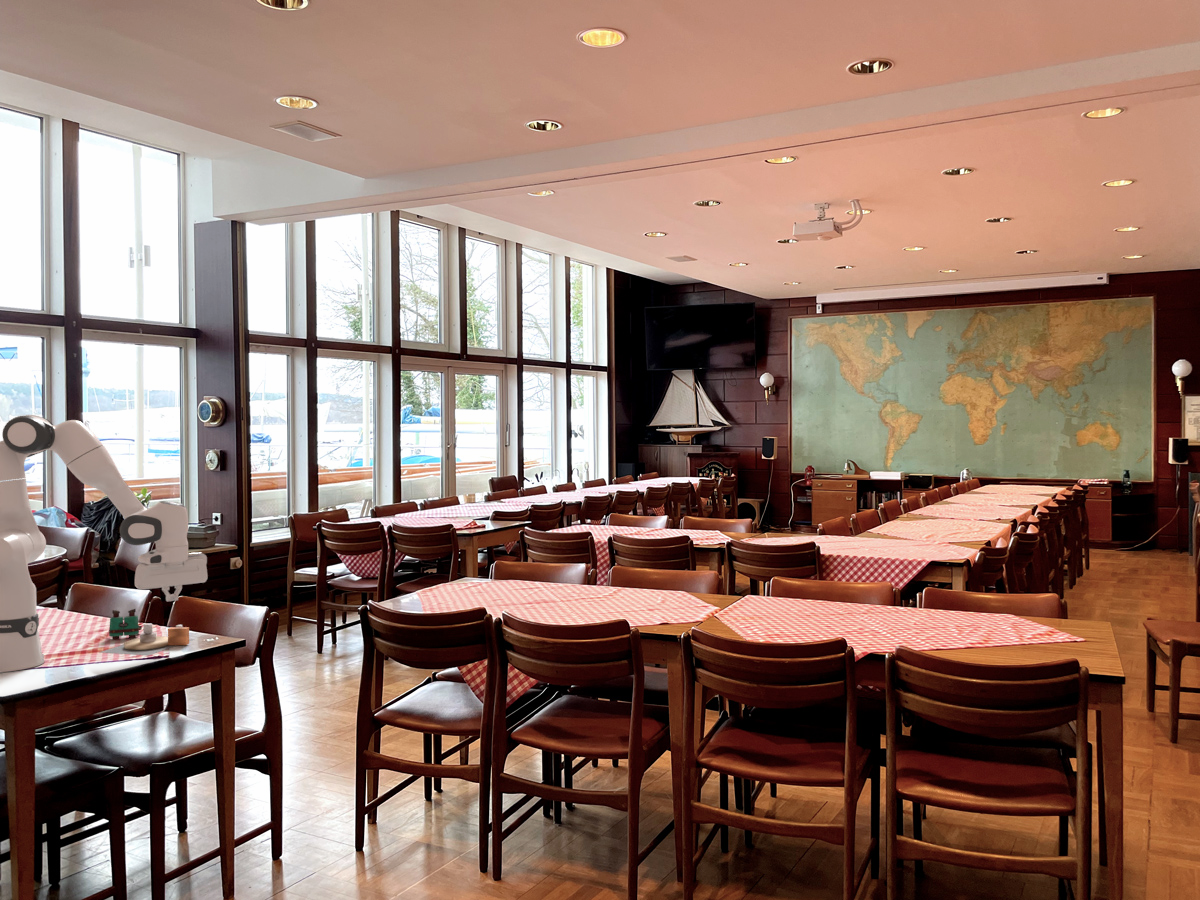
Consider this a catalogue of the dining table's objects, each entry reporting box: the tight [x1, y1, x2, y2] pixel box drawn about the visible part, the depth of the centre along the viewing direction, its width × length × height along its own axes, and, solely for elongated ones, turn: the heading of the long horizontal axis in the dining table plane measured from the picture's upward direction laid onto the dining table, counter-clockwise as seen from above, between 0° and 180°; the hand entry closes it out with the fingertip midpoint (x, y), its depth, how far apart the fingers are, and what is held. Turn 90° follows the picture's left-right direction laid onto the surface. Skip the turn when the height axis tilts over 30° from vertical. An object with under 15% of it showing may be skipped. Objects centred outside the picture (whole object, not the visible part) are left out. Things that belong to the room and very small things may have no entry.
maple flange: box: [123, 626, 190, 650], centre depth 270 cm, size 18×13×5 cm
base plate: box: [99, 623, 195, 656], centre depth 270 cm, size 17×20×8 cm
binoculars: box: [108, 608, 142, 641], centre depth 282 cm, size 9×11×10 cm
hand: (172, 600), depth 267 cm, fingers closed
